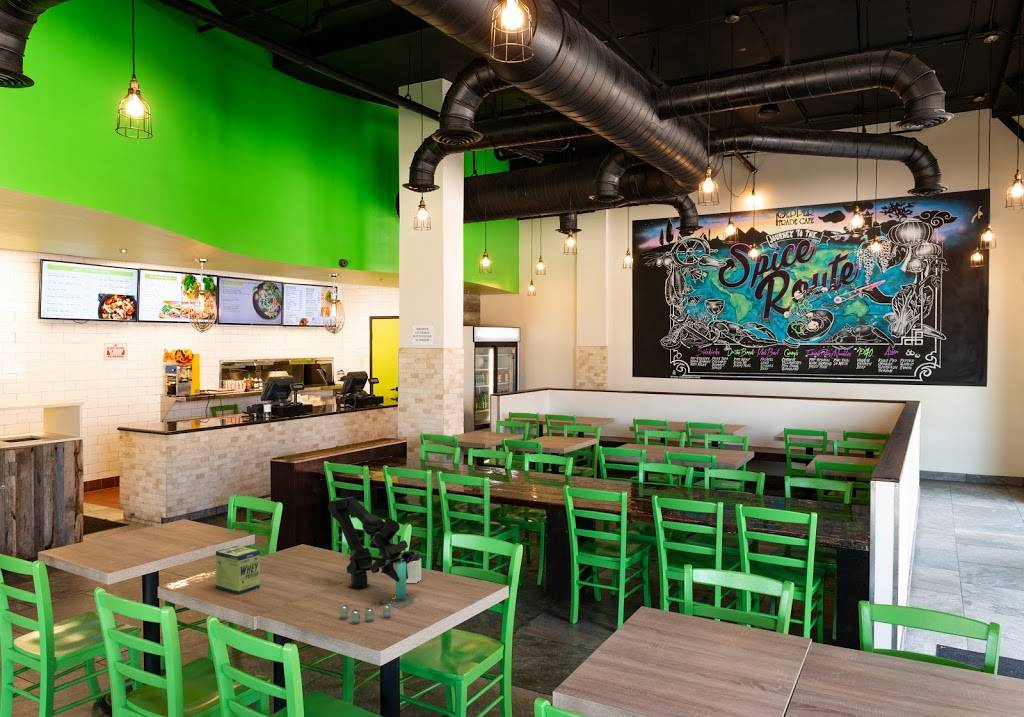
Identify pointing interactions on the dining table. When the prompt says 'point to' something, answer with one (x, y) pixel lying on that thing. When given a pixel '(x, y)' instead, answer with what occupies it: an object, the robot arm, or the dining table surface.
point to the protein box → (237, 569)
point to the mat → (400, 601)
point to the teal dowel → (401, 579)
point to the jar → (414, 568)
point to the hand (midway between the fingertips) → (403, 580)
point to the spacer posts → (368, 613)
